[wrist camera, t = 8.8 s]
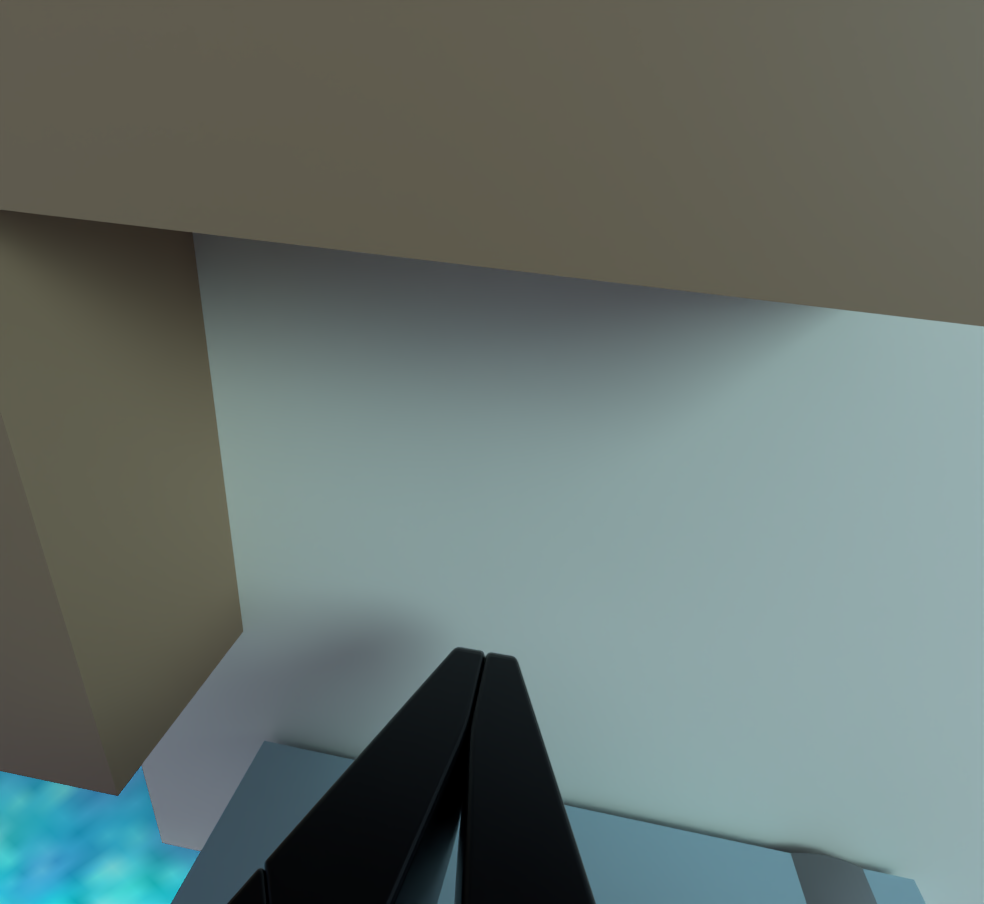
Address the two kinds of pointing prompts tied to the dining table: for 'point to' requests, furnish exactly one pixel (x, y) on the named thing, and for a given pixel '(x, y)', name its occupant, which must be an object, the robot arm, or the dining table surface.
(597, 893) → the leg
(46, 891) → the dining table surface
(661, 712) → the seat
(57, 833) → the dining table surface
